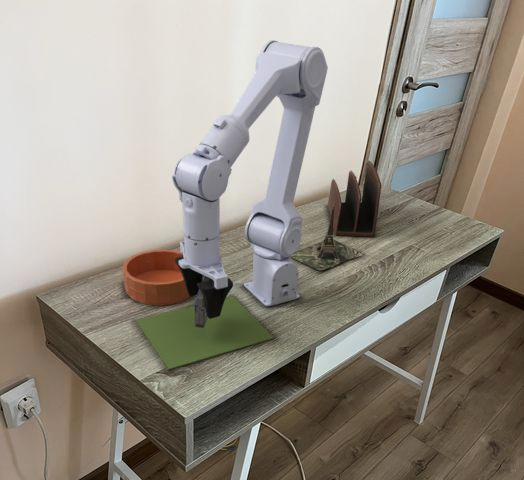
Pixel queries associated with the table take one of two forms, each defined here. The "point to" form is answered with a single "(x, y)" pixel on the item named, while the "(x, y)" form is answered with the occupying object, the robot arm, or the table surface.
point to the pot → (154, 278)
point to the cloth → (201, 333)
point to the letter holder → (356, 205)
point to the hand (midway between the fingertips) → (203, 305)
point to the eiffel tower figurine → (326, 251)
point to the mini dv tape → (200, 308)
